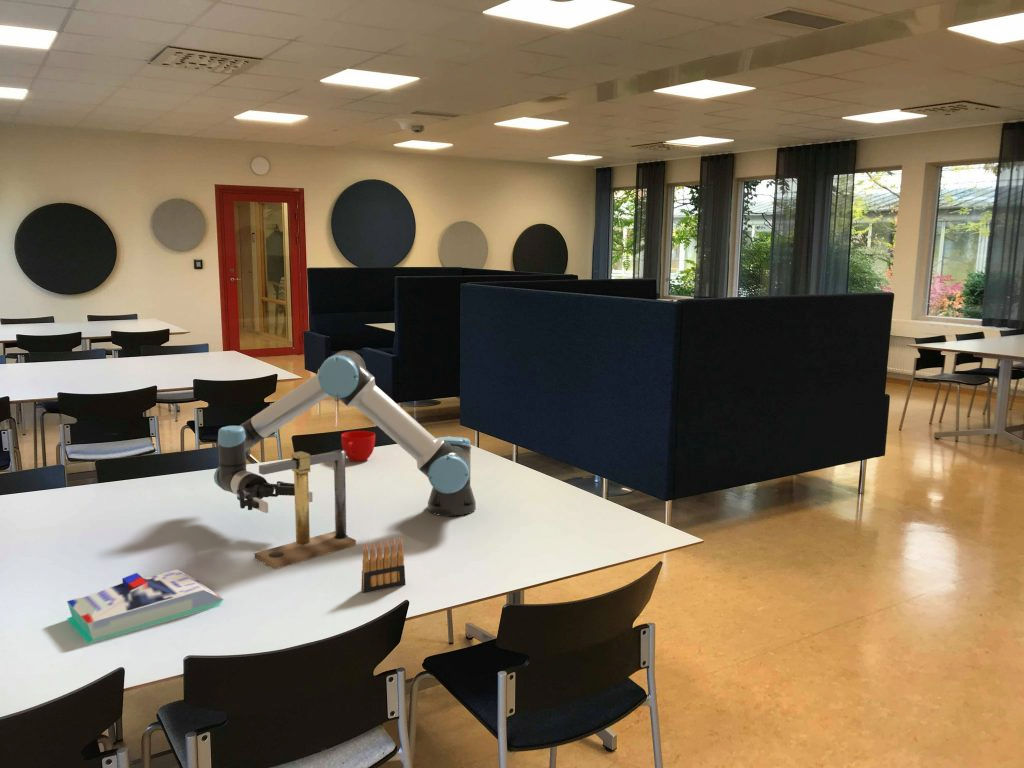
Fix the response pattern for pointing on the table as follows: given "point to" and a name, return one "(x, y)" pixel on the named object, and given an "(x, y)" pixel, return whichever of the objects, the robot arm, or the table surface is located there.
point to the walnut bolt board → (303, 550)
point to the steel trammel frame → (339, 482)
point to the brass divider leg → (302, 497)
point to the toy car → (139, 604)
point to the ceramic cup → (358, 445)
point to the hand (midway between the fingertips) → (289, 502)
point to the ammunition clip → (383, 567)
